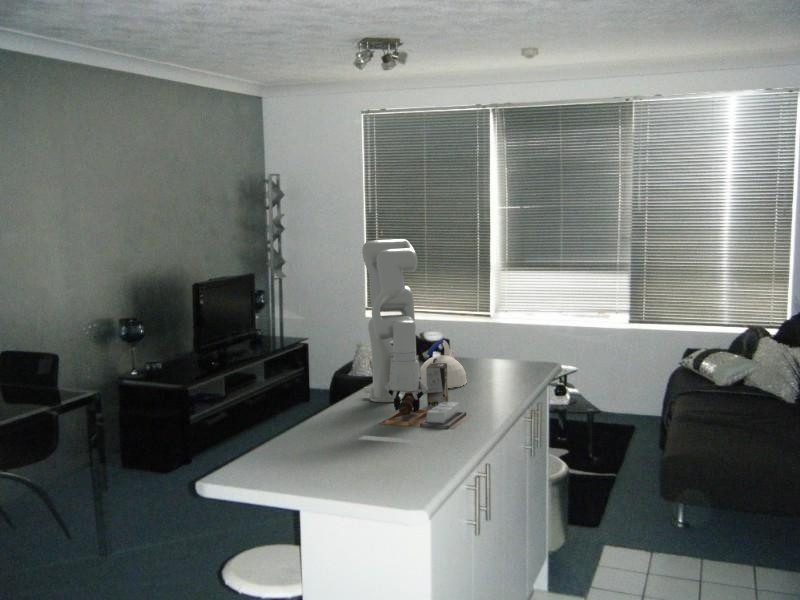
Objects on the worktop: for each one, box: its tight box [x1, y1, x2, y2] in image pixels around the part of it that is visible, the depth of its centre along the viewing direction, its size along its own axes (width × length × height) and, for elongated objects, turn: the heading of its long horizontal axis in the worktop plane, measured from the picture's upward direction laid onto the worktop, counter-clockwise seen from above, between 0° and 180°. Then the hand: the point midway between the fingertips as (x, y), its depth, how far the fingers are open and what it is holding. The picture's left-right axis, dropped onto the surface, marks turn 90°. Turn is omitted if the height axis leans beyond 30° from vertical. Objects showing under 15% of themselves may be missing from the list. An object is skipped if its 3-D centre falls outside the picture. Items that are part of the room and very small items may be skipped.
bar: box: [427, 401, 461, 425], centre depth 265 cm, size 6×15×4 cm, turn 157°
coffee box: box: [426, 363, 449, 410], centre depth 284 cm, size 9×6×16 cm
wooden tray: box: [378, 408, 472, 430], centre depth 268 cm, size 26×18×2 cm
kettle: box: [420, 339, 468, 389], centre depth 328 cm, size 20×21×18 cm
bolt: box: [398, 392, 414, 416], centre depth 271 cm, size 6×5×15 cm
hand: (406, 409), depth 271 cm, fingers closed on bolt, 6 cm apart
